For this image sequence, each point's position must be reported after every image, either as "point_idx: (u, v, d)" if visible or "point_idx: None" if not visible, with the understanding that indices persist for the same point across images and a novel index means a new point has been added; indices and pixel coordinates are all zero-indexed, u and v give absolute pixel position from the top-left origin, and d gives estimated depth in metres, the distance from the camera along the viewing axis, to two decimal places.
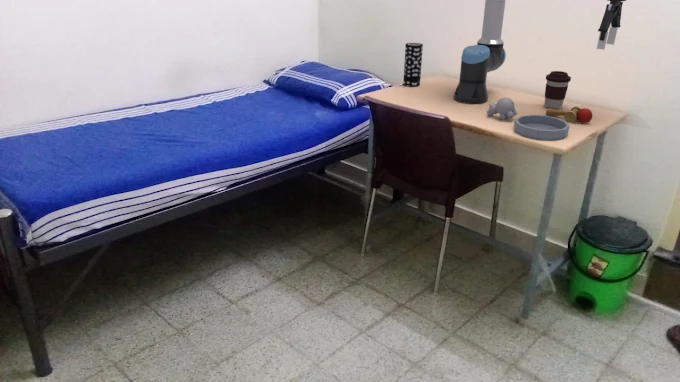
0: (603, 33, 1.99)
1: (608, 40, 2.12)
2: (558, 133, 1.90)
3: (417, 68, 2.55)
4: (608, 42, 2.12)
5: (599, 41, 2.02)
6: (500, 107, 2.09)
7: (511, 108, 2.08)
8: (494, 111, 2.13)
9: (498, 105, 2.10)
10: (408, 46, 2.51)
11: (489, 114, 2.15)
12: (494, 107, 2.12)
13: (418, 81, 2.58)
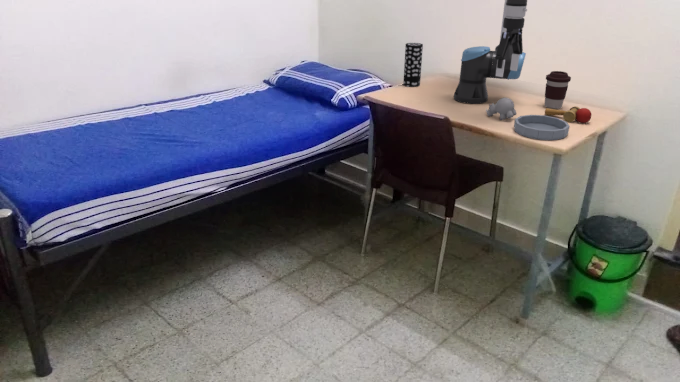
0: (500, 61, 1.98)
1: (511, 66, 2.11)
2: (558, 133, 1.90)
3: (417, 68, 2.55)
4: (511, 68, 2.11)
5: (497, 69, 2.00)
6: (500, 107, 2.09)
7: (511, 108, 2.08)
8: (494, 111, 2.13)
9: (498, 105, 2.10)
10: (408, 46, 2.51)
11: (489, 114, 2.15)
12: (494, 107, 2.12)
13: (418, 81, 2.58)
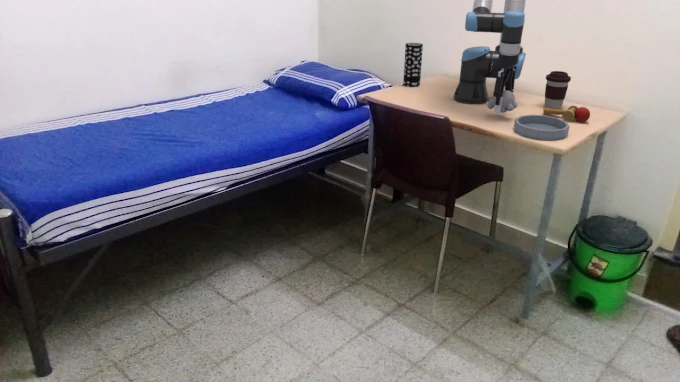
0: (497, 98, 2.07)
1: None
2: (558, 133, 1.90)
3: (417, 68, 2.55)
4: None
5: (495, 105, 2.10)
6: None
7: (511, 101, 2.08)
8: None
9: None
10: (408, 46, 2.51)
11: (489, 107, 2.15)
12: (494, 100, 2.12)
13: (418, 81, 2.58)
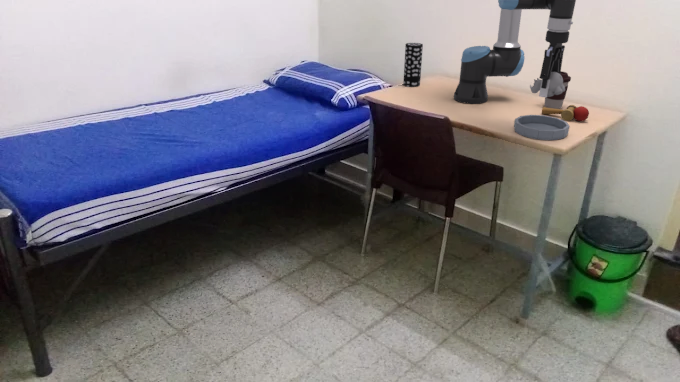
0: (544, 81, 1.86)
1: None
2: (558, 133, 1.90)
3: (417, 68, 2.55)
4: None
5: (541, 88, 1.89)
6: None
7: (559, 83, 1.87)
8: (539, 87, 1.92)
9: None
10: (408, 46, 2.51)
11: (533, 91, 1.94)
12: (540, 83, 1.91)
13: (418, 81, 2.58)
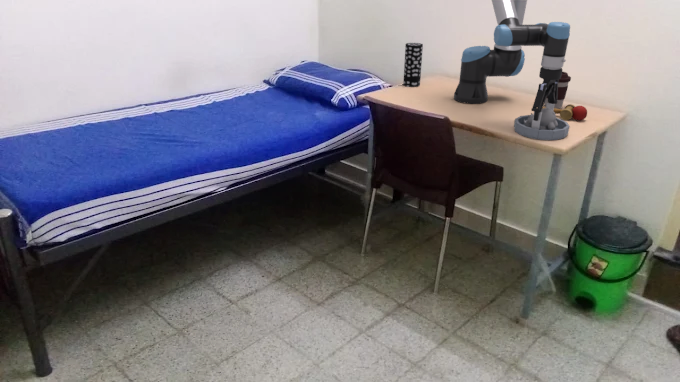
0: (536, 113, 1.90)
1: None
2: (558, 133, 1.90)
3: (417, 68, 2.55)
4: None
5: (533, 120, 1.92)
6: (541, 119, 1.94)
7: (552, 119, 1.93)
8: None
9: None
10: (408, 46, 2.51)
11: (527, 125, 2.00)
12: None
13: (418, 81, 2.58)
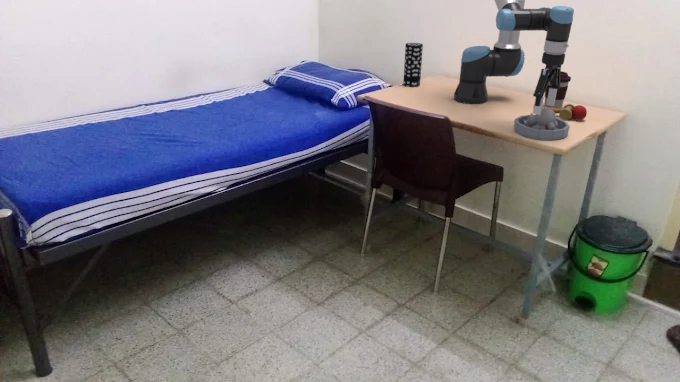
0: (538, 99, 1.87)
1: (548, 101, 2.00)
2: (558, 133, 1.90)
3: (417, 68, 2.55)
4: (548, 103, 2.00)
5: (535, 106, 1.90)
6: (541, 119, 1.94)
7: (552, 119, 1.93)
8: (533, 122, 1.98)
9: (538, 116, 1.95)
10: (408, 46, 2.51)
11: (527, 125, 2.00)
12: (533, 118, 1.97)
13: (418, 81, 2.58)
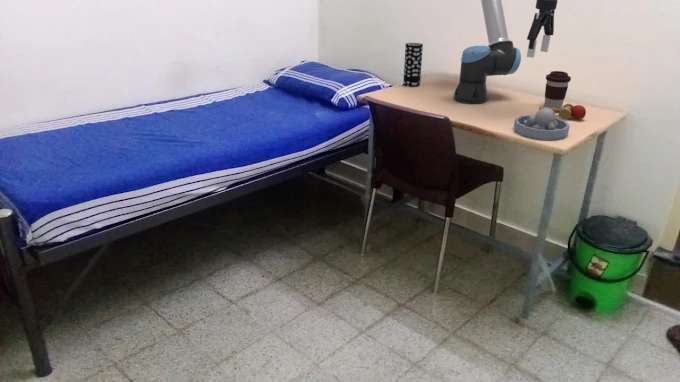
0: (531, 42, 2.01)
1: (542, 47, 2.14)
2: (558, 133, 1.90)
3: (417, 68, 2.55)
4: (542, 49, 2.14)
5: (528, 49, 2.04)
6: (541, 119, 1.94)
7: (552, 119, 1.93)
8: (533, 122, 1.98)
9: (538, 116, 1.95)
10: (408, 46, 2.51)
11: (527, 125, 2.00)
12: (533, 118, 1.97)
13: (418, 81, 2.58)
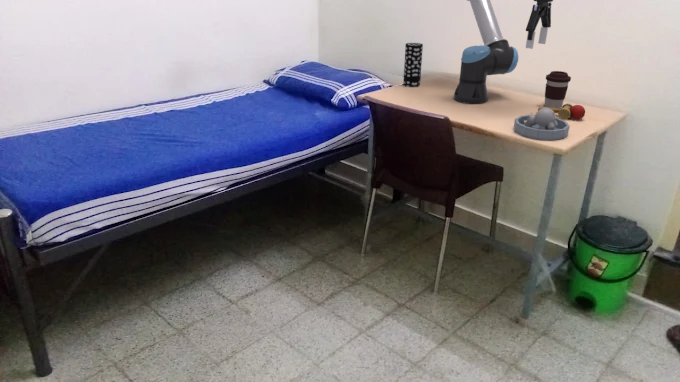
0: (530, 33, 2.05)
1: (540, 39, 2.18)
2: (558, 133, 1.90)
3: (417, 68, 2.55)
4: (540, 41, 2.19)
5: (527, 40, 2.08)
6: (541, 119, 1.94)
7: (552, 119, 1.93)
8: (533, 122, 1.98)
9: (538, 116, 1.95)
10: (408, 46, 2.51)
11: (527, 125, 2.00)
12: (533, 118, 1.97)
13: (418, 81, 2.58)
